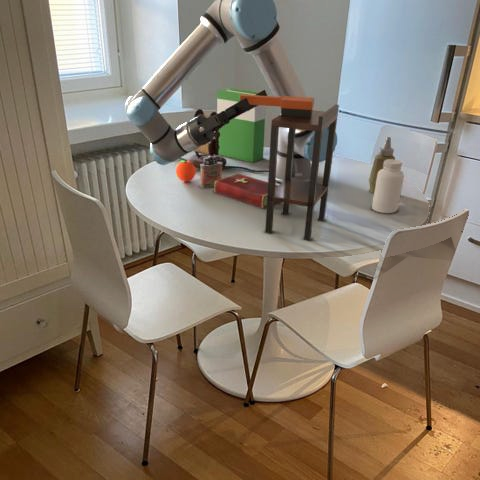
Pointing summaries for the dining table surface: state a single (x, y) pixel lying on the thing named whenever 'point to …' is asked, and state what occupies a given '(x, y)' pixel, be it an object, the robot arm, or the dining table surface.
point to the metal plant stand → (291, 188)
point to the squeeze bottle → (380, 162)
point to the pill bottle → (388, 187)
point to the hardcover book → (244, 189)
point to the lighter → (210, 171)
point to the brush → (284, 104)
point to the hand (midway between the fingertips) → (257, 98)
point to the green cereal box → (241, 128)
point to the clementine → (185, 171)
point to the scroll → (207, 147)
